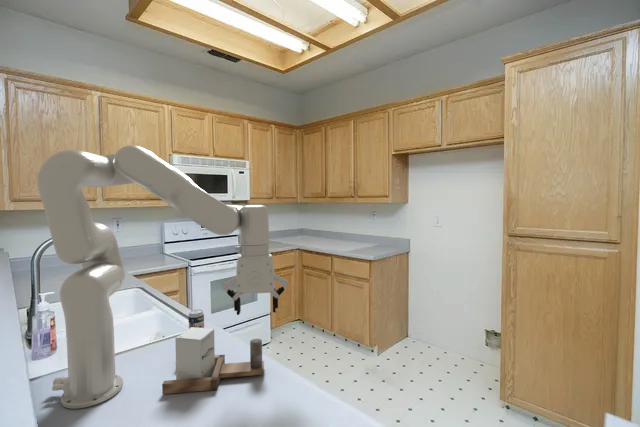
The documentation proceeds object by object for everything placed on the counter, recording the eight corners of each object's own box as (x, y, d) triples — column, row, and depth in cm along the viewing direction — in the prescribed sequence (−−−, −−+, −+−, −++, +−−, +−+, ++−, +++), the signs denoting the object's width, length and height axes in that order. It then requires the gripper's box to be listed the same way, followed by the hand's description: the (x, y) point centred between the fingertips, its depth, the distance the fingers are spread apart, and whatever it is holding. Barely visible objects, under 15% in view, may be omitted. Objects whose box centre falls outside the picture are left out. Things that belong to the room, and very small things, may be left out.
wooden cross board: (162, 394, 79) (161, 359, 78) (178, 366, 91) (177, 336, 91) (262, 385, 82) (262, 352, 82) (264, 359, 95) (264, 330, 94)
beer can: (192, 353, 100) (191, 315, 99) (186, 347, 103) (185, 311, 103) (207, 348, 103) (206, 311, 102) (201, 343, 107) (200, 307, 106)
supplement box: (201, 388, 82) (199, 340, 81) (175, 384, 83) (174, 337, 82) (215, 372, 89) (215, 328, 88) (192, 369, 90) (191, 326, 90)
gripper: (219, 254, 81) (221, 319, 82) (287, 251, 84) (288, 315, 85) (224, 249, 89) (226, 309, 90) (286, 247, 91) (287, 305, 92)
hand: (256, 311), depth 87 cm, fingers open, 9 cm apart
